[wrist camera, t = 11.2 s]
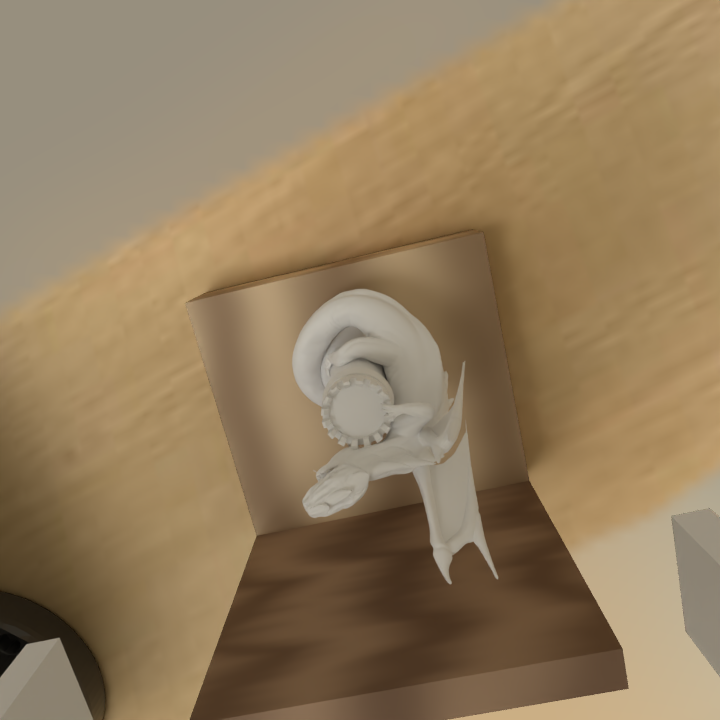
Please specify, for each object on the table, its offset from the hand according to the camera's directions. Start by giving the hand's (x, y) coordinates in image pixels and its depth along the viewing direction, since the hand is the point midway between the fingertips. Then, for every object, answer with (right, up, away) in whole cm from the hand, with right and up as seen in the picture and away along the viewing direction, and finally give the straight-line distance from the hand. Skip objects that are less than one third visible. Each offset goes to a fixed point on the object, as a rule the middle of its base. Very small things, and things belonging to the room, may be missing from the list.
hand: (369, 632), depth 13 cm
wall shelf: (0, +4, +22) cm, 22 cm away
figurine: (+1, +5, +18) cm, 19 cm away
